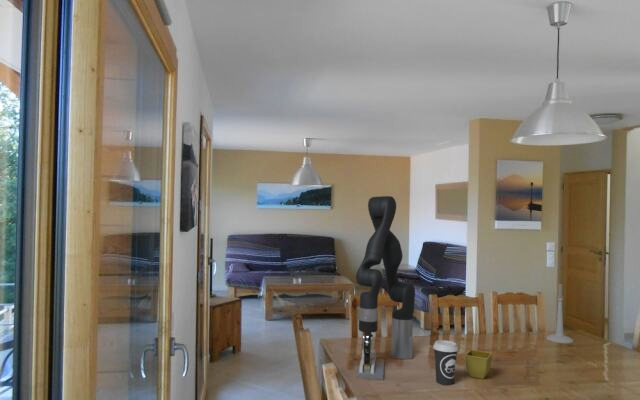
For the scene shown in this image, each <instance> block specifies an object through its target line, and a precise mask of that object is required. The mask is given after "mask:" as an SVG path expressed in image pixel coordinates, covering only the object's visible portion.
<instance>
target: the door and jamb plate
mask: <svg viewBox="0 0 640 400" xmlns="http://www.w3.org/2000/svg"><path fill="white" fill-rule="evenodd" d="M376 352H377V350H376V349H371V367H370V371H364V365H363V363H364V348H362V351H361V357H360V361H359V366H358V369H357V374H356V378H359V379H367V380H368V379H372V380H384V372H385V359H382V358H381V359H380V358H376V357H377V355H376V354H377V353H376Z"/></svg>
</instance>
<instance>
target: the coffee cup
mask: <svg viewBox="0 0 640 400" xmlns="http://www.w3.org/2000/svg"><path fill="white" fill-rule="evenodd" d="M432 348H433V351H434V364H435V365H434V366H435V369H434V370H435V382H436V383H437V384H439V385H442V386H452V385H454V383H455V375H456V365H457V358H458V357H457V356H458V351H459V350H460V349H459V347H458V344H457V343H456V342H455V341H451V340H447V339H446V340H445V339H444V340H440V339H439V340H436V341H435V342H434V344H433V345H432Z"/></svg>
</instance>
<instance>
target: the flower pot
mask: <svg viewBox="0 0 640 400" xmlns="http://www.w3.org/2000/svg"><path fill="white" fill-rule="evenodd" d="M464 357H465V358H464V361H465V365H466V366H465V367H466V370H467V372H468V374H469V376H470V377H472V378H476V379H480V380H483V379H485V378H486V377H487V375H488V373H490V372H489V371H490V369H491V366H492V365H491V364H492V359H493V353H492V352H486V351H481V350H475V349H470V350H469V351H468V352H467V353H466V354H465V355H464Z"/></svg>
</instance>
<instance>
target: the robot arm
mask: <svg viewBox="0 0 640 400" xmlns="http://www.w3.org/2000/svg"><path fill="white" fill-rule="evenodd" d="M367 209H368V214H369V216H370V220H371V222H372V225H373V228H374V232H373V233H372V235H371V236H370V238H369V239H368V240H367V241H368V242H367V244H366V248H365V254H364V257H363V260H362V261H361V263H360V265H359V267H358V269H357V272H356V275H355V280H356V283H357V285H359V286H361V287H369V288H370V287H371V288H370V290H369V291H365V292H364V291H363V292H361V293H360V295H359V311H358V331H360V332H362V333H364V334H362V349H364V363H365V364H370V354H371V352H370V349H371V350H372V348H373V340H374V335H373V334H372V333H376V332H377V331H378V325H379V323H378V322H379V312H378V311H379V310H378V301H379V300H378V299H379V294H380V290H381V286H382V284H383V274H382V271H381V270H379V269H377V268H371V267H373V266H378V265H381V262H382V263H383V267H384V271H385V277H386V284H387V286H386V287H387V292H388V296H389V298H390V300H391V301H392V302H395V303H400V304H401V303H402V304H401V308H398V309H394V310H393V311H392V313H391V314H392V315H391V347H390V348H391V349H390V354H391V355H390V356H391V357H392V358H394V359H398V360H408V359H409V360H410V359H413V339H414V338H413V328H414V327H413V323H414V321H413V319H414V311H415V302H416V301H415V299H416V289H415V286H414V284H413V283H411V282H404V281H399V277H398V270H399V267H400V265H401V263H402V260H403V249H402V246H401V242H400V240H399V239H398V238H397V236H396V235H395V234H394V233H393V232H392V231H391V227H392V224H393V222H394V218H395V215H396V211H397V202H396V199H395V198H394V197H393V196H388V195H386V196H384V195H383V196H382V195H381V196H371V197H370V198H369V200H368V204H367ZM366 349H368V350H369V351H365V350H366Z"/></svg>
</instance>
